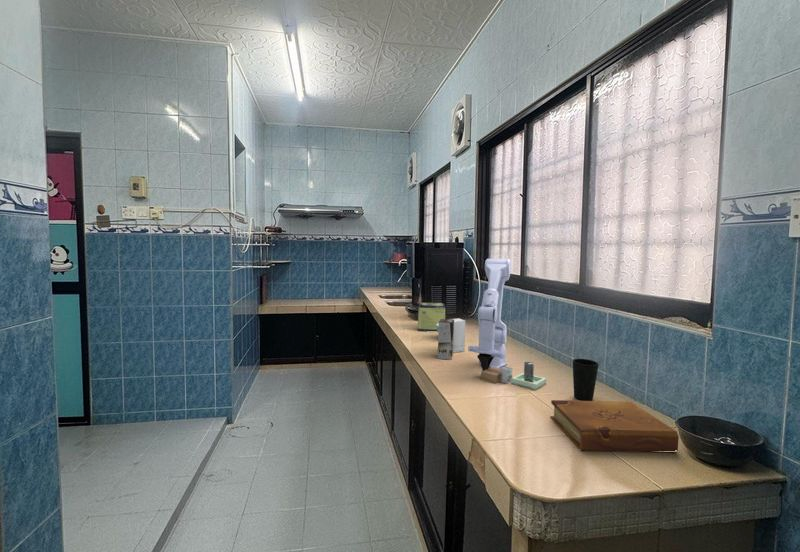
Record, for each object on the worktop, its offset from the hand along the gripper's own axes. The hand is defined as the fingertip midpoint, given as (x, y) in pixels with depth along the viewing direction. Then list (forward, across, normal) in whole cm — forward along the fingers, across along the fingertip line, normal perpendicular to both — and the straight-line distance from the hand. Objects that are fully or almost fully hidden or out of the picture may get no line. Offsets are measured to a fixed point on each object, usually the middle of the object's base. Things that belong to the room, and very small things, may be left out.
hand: (485, 373), depth 146 cm
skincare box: (+1, -29, +22) cm, 37 cm away
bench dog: (+1, +8, 0) cm, 8 cm away
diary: (+2, +47, -18) cm, 50 cm away
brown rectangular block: (+1, +4, 0) cm, 4 cm away
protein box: (+1, -66, +52) cm, 84 cm away
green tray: (+1, +15, +4) cm, 16 cm away
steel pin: (0, +15, +4) cm, 16 cm away
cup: (+1, +34, +4) cm, 34 cm away
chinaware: (+1, -44, +40) cm, 60 cm away
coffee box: (+1, -26, +11) cm, 28 cm away
